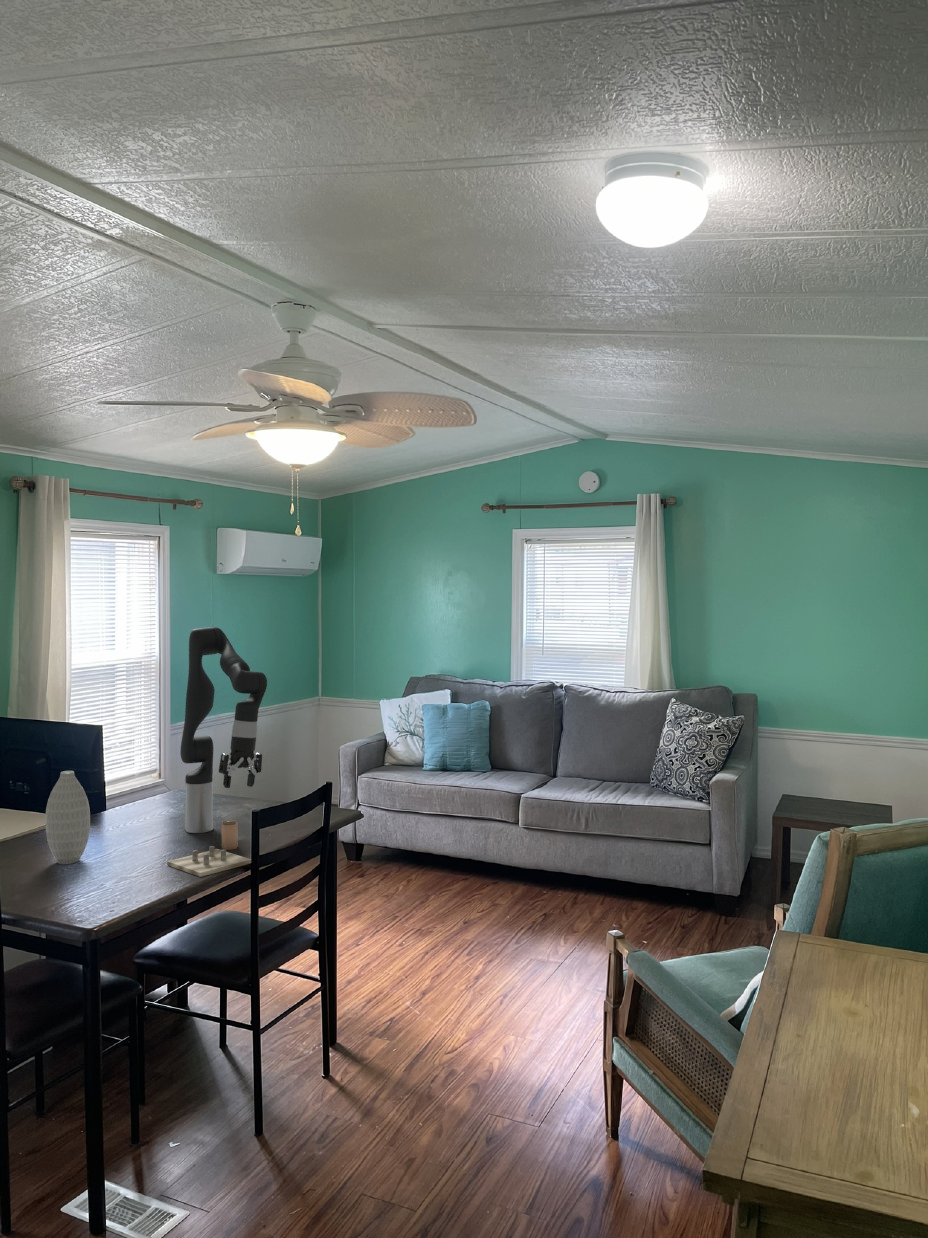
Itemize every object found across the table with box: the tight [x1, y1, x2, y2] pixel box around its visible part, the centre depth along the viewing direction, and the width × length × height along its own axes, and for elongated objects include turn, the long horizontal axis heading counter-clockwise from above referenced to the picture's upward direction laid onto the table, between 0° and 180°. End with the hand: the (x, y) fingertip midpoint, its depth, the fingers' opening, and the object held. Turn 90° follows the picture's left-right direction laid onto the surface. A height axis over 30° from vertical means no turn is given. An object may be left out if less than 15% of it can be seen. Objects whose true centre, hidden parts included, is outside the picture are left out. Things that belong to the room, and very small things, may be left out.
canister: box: [220, 818, 239, 851], centre depth 298 cm, size 5×5×9 cm
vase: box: [45, 770, 91, 865], centre depth 283 cm, size 13×13×28 cm
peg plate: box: [166, 845, 252, 878], centre depth 280 cm, size 18×18×4 cm
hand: (238, 787), depth 282 cm, fingers open, 8 cm apart
